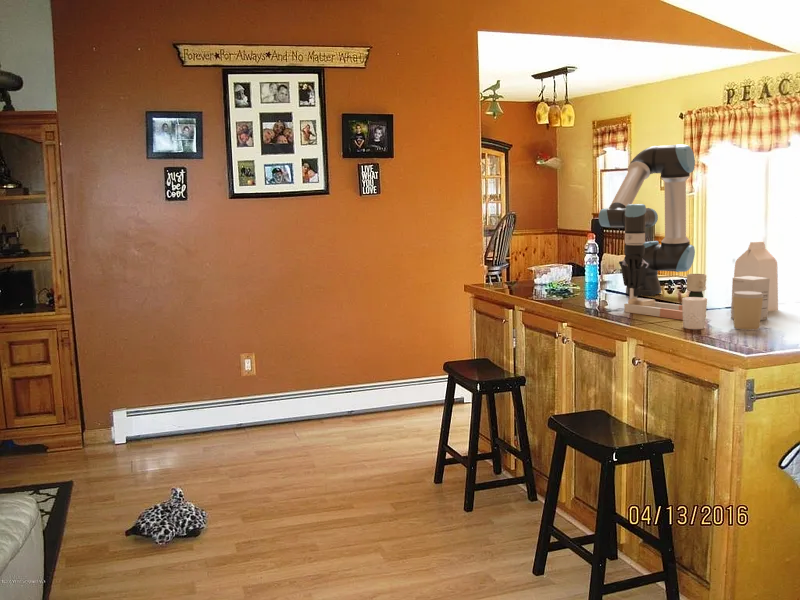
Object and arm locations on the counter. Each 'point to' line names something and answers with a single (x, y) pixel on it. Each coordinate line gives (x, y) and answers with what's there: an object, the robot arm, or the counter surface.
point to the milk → (759, 269)
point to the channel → (657, 310)
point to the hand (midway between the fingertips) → (633, 304)
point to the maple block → (642, 302)
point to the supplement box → (752, 285)
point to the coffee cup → (747, 309)
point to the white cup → (694, 312)
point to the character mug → (696, 284)
